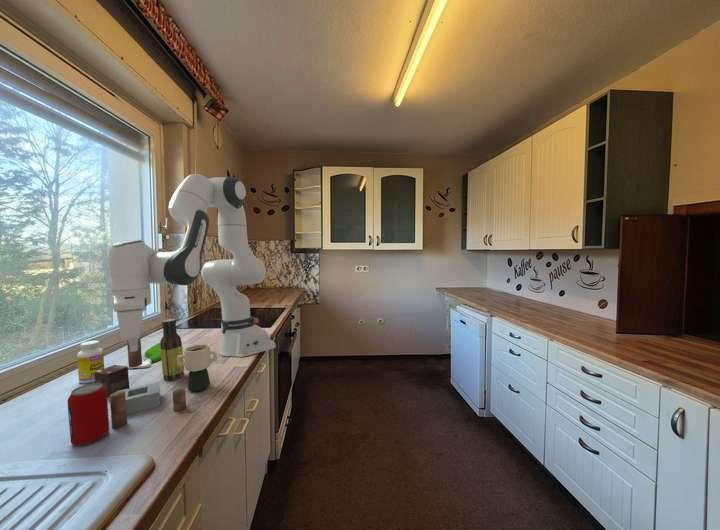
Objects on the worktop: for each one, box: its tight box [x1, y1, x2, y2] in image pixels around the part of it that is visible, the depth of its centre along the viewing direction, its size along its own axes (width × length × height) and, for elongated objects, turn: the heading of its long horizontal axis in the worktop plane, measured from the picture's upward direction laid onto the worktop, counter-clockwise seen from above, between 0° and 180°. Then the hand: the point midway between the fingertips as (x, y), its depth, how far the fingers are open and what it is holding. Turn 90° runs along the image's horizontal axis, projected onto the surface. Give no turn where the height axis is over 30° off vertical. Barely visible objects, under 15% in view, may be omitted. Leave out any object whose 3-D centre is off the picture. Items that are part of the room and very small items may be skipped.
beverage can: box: [67, 382, 110, 446], centre depth 70 cm, size 7×7×12 cm
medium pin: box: [109, 391, 128, 430], centre depth 76 cm, size 3×3×8 cm
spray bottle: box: [127, 342, 162, 370], centre depth 124 cm, size 3×11×25 cm
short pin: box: [172, 388, 187, 413], centre depth 83 cm, size 3×3×5 cm
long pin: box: [126, 337, 143, 367], centre depth 84 cm, size 3×3×11 cm
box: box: [94, 364, 130, 398], centre depth 94 cm, size 6×6×7 cm
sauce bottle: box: [159, 318, 185, 382], centre depth 103 cm, size 6×6×20 cm
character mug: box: [177, 343, 218, 392], centre depth 95 cm, size 11×7×13 cm, turn 111°
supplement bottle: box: [76, 340, 105, 384], centre depth 103 cm, size 7×7×13 cm
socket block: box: [117, 381, 161, 416], centre depth 85 cm, size 10×8×4 cm
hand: (134, 348), depth 84 cm, fingers closed on long pin, 3 cm apart
